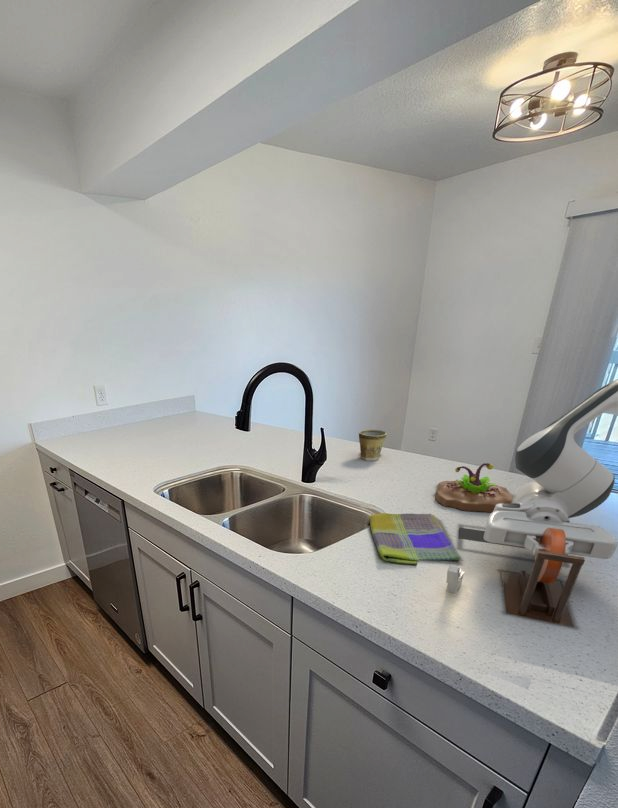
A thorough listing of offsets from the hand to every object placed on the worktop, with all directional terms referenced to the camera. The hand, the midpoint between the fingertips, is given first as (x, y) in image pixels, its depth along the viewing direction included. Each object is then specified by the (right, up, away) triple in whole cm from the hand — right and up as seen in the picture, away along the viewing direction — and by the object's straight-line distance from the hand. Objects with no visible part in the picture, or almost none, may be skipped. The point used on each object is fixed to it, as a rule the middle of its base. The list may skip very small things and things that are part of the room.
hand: (551, 554), depth 78 cm
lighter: (-13, -9, +9) cm, 18 cm away
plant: (+16, +14, +51) cm, 55 cm away
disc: (+1, -5, +3) cm, 6 cm away
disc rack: (+1, -9, +6) cm, 11 cm away
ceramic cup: (+1, +35, +92) cm, 99 cm away
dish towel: (-12, +2, +30) cm, 32 cm away
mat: (+9, 0, +24) cm, 26 cm away
